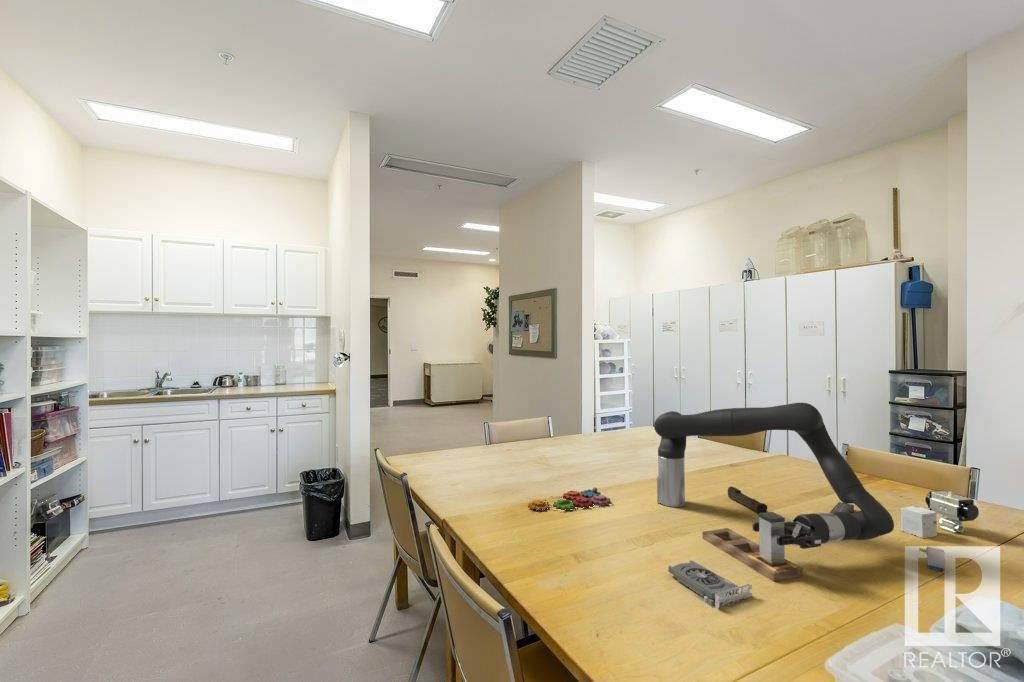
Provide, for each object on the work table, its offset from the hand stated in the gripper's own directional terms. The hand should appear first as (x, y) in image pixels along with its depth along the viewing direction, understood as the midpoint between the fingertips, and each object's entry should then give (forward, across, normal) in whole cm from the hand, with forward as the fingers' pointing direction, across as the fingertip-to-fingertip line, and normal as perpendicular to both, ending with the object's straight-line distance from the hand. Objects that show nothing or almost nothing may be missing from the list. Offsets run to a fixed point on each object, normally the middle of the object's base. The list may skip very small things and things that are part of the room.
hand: (765, 533), depth 118 cm
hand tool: (-26, -42, +10) cm, 51 cm away
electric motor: (-43, +8, +10) cm, 45 cm away
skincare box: (-61, -10, +10) cm, 63 cm away
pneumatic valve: (-73, -9, +10) cm, 74 cm away
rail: (-1, -8, +9) cm, 12 cm away
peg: (-2, 0, +9) cm, 10 cm away
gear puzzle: (+35, -58, +10) cm, 69 cm away
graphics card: (+19, +4, +10) cm, 22 cm away
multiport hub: (-53, -28, +10) cm, 60 cm away
